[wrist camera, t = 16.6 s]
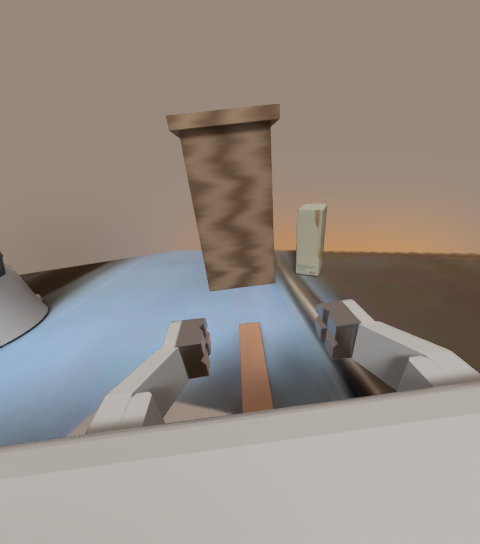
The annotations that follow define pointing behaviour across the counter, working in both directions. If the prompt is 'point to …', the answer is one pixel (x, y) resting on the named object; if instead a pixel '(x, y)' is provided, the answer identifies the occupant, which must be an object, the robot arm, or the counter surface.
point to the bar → (253, 370)
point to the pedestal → (231, 191)
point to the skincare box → (310, 238)
